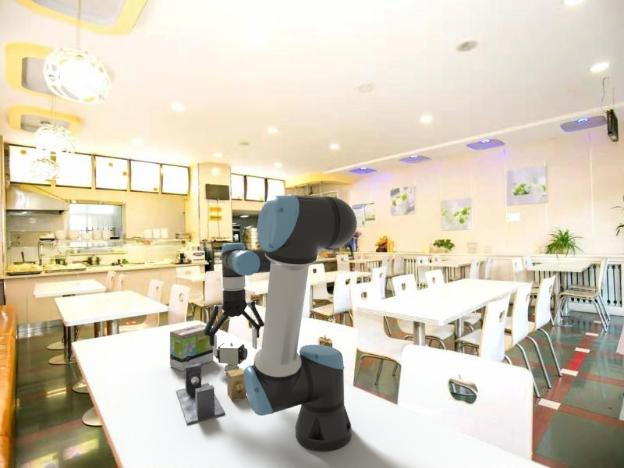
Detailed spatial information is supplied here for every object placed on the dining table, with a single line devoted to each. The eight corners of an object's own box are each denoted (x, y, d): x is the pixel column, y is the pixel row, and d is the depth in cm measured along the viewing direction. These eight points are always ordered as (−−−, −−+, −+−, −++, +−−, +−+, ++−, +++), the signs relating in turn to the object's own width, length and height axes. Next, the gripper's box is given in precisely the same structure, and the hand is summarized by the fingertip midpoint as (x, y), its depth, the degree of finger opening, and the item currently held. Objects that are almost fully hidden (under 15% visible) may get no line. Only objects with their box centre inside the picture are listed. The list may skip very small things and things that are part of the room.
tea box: (183, 372, 138) (182, 335, 138) (169, 366, 144) (168, 331, 144) (214, 360, 150) (213, 326, 150) (200, 355, 156) (199, 323, 156)
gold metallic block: (247, 398, 114) (247, 374, 114) (232, 402, 112) (232, 378, 112) (240, 389, 121) (240, 366, 121) (226, 393, 119) (225, 369, 119)
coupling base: (225, 414, 104) (224, 386, 104) (187, 424, 99) (186, 395, 99) (208, 384, 125) (207, 361, 125) (176, 391, 120) (175, 367, 120)
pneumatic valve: (243, 376, 132) (242, 345, 132) (215, 374, 134) (214, 344, 134) (249, 370, 137) (248, 340, 137) (221, 369, 140) (221, 339, 140)
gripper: (265, 283, 125) (266, 341, 126) (193, 290, 114) (195, 354, 114) (272, 286, 119) (274, 347, 119) (197, 294, 107) (199, 362, 107)
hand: (235, 351), depth 116 cm, fingers open, 13 cm apart
